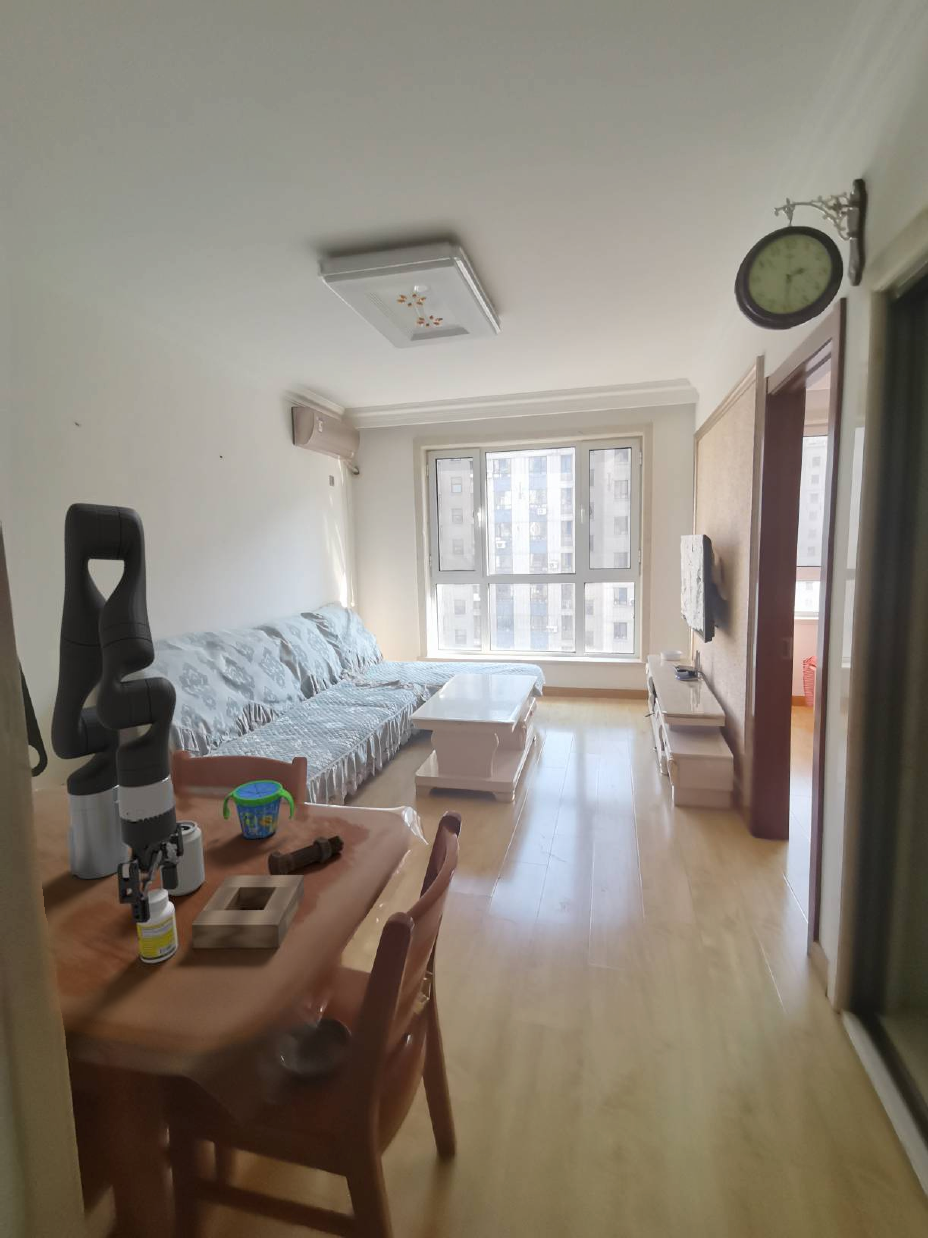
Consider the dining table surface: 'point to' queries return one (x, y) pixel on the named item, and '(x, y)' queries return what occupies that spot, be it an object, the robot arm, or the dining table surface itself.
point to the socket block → (249, 912)
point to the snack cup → (258, 807)
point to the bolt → (304, 855)
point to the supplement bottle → (158, 929)
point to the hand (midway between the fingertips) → (157, 904)
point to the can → (189, 860)
